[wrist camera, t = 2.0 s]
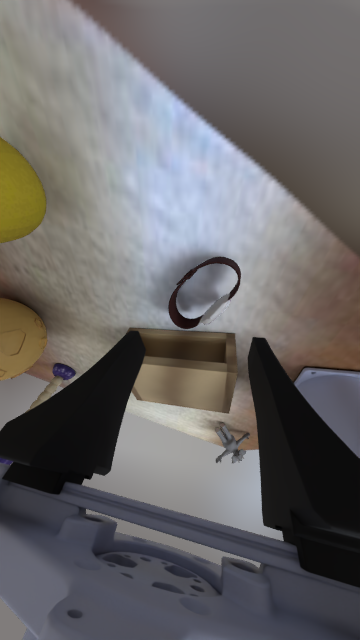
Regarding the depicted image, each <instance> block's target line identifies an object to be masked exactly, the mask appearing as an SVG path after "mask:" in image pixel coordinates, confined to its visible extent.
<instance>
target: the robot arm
mask: <svg viewBox="0 0 360 640" xmlns="http://www.w3.org/2000/svg"><path fill="white" fill-rule="evenodd" d="M145 352H146V348H145V346H144V343H143V341H142V338H141V336H140V333H139V331H133V330H130V331H129V332H128V333H127V334H126V335H125V336H124V337H123V338H122V339H121V340H120V341H119V342H118V343H117V344H116V345H115V346H114V347H113V348H112V349H111V350H110V351H109V352H108V353H107V354H106V355H105V356H104V357H102V358H101V359H100V360H99V361H98V362H97V363H96V364H95V365H94V366H92V367H91V368H90V369H89V370H88V371H87V372H85V373H84V374H83V375H82V376H80V377H79V378H78V379H76V380H75V381H74V382H72V383H71V384H69V385H68V386H67V387H65V388H64V389H63V390H61V391H60V392H58V393H57V394H55V395H54V396H52V397H50V398H49V399H47V400H46V401H44V402H43V403H41V404H39V405H38V406H36V407H34V408H33V409H31V410H29V411H27V412H26V413H24V414H22V415H20V416H18V417H17V418H15V419H13V420H11V421H9V422H7V423H6V424H5V426H4V427H3V428H2V430H1V431H0V458H2V459H6V460H10V461H13V463H12V464H11V465H7V464H3V463H0V598H1V599H2V600H3V602H4V603H5V604H6V605H7V606H8V607H9V608H10V609H11V610H12V611H13V613H15V615H16V616H17V617H18V618H19V619H20V620H21V621H22V622H23V623H24V625H25V626H26V627H27V629H26V632H25V634H24V637H23V639H22V640H360V372H354V371H342V370H331V369H319V368H304V369H303V370H302V372H301V373H300V375H299V376H298V378H297V379H296V381H295V382H294V383H293V382H292V381H291V379H290V378H289V376H288V375H287V373H286V372H285V370H284V369H283V367H282V366H281V364H280V363H279V361H278V360H277V358H276V356H275V355H274V353H273V351H272V350H271V348H270V346H269V344H268V342H267V340H266V339H265V338H257V337H253V339H252V343H251V347H250V351H249V355H248V371H249V379H250V384H251V390H252V396H253V401H254V407H255V412H256V420H257V431H258V444H259V457H260V474H261V495H262V515H263V523H264V526H267V527H270V528H273V529H276V530H280V531H282V533H283V539H284V541H280V540H276V539H273V538H269V537H266V536H262V535H258V534H255V533H251V532H248V531H244V530H241V529H237V528H233V527H230V526H226V525H222V524H219V523H215V522H212V521H208V520H204V519H201V518H198V517H194V516H190V515H187V514H183V513H179V512H176V511H173V510H169V509H165V508H162V507H158V506H155V505H151V504H147V503H144V502H140V501H137V500H133V499H129V498H126V497H122V496H118V495H115V494H111V493H108V492H104V491H101V490H97V489H94V488H90V487H86V486H83V485H82V483H83V480H84V478H85V479H89V480H90V479H91V478H92V476H93V473H96V474H99V475H103V476H105V475H106V474H108V473H109V472H110V470H111V466H112V461H113V456H114V451H115V447H116V443H117V438H118V434H119V430H120V426H121V422H122V419H123V415H124V412H125V409H126V405H127V402H128V399H129V396H130V393H131V391H132V388H133V386H134V384H135V381H136V379H137V376H138V374H139V371H140V369H141V366H142V363H143V360H144V356H145ZM86 509H89V510H92V511H95V512H98V513H102V514H105V515H108V516H111V517H114V518H118V519H121V520H124V521H128V522H131V523H134V524H137V525H140V526H144V527H147V528H150V529H153V530H157V531H160V532H163V533H166V534H170V535H173V536H176V537H179V538H182V539H185V540H189V541H192V542H196V543H198V544H202V545H205V546H208V547H211V548H215V549H218V550H221V551H224V552H228V553H231V554H234V555H237V556H240V557H244V558H247V559H250V560H253V561H256V562H260V563H261V565H260V567H259V568H258V567H256V566H255V565H253V564H252V563H249V562H247V561H243V560H239V559H234V558H229V557H222V566H221V565H218V564H216V563H213V562H210V561H208V560H206V559H203V558H201V557H198V556H196V555H193V554H191V553H188V552H185V551H183V550H180V549H177V548H174V547H171V546H168V545H164V544H161V543H157V542H153V541H150V540H146V539H142V538H138V537H134V536H130V535H126V534H122V533H118V532H115V530H116V527H117V522H115V521H114V520H112V519H110V518H108V517H105V516H101V515H92V514H86Z"/></svg>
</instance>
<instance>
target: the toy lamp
mask: <svg viewBox="0 0 360 640" xmlns="http://www.w3.org/2000/svg"><path fill="white" fill-rule="evenodd" d="M53 374H54V376H55V377H54V378H53V379H52V381H51V383H50V384H49V385H48V386H47V387H46V388H45V390H44V392H42V393H41V394H40V395H39V396H38V398H37V400H36V401H34V402H33V403H32V405H31V406H30V409H29V410H31V409H33V408H34V407H36V406H38V405H39V404H41V403H43V402H44V401H46V400H47V399H49V398H50V397H51V394H53V393H54V392H55V391H56V389H57V386H59V385H60V384H61V383H62V381H63V380H68V379H71V378H72V377H74V376H75V374H76V373H75V371H74V370H73V369H72V368H70V367H68V366H66V365H63V364H55V365H54V367H53ZM29 410H27V411H29ZM27 411H26V412H27ZM26 412H25V413H26ZM12 462H13V461H10V460H6V459H2V458H0V463H3V464H7V465H10V464H11V463H12Z"/></svg>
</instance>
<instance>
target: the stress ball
mask: <svg viewBox="0 0 360 640" xmlns="http://www.w3.org/2000/svg"><path fill="white" fill-rule="evenodd" d="M46 344H47V332H46V328H45V325H44V323H43V321H42V320H41V318H40V317H39V316H38V315H37V314H36V313H35V312H34V311H33V310H32V309H30V308H29V307H27V306H25V305H23V304H21V303H19V302H16V301H13V300H9V299H5V298H0V381H1V380H5V379H8V378H11V379H12V378H15V377H16V376H19V375H20V374H22V373H24V372H25V371H27V370H28V369H30V368H31V367H33V366H32V365H33V364H34V363H35V362H36V361H37V360H38V358H39V357H40V356H41V354H42V353H43V351H44V348H45V347H46Z"/></svg>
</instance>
